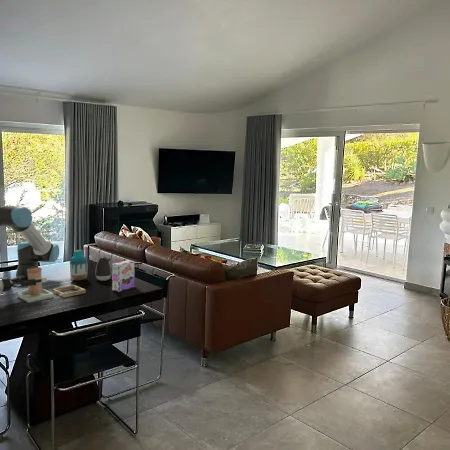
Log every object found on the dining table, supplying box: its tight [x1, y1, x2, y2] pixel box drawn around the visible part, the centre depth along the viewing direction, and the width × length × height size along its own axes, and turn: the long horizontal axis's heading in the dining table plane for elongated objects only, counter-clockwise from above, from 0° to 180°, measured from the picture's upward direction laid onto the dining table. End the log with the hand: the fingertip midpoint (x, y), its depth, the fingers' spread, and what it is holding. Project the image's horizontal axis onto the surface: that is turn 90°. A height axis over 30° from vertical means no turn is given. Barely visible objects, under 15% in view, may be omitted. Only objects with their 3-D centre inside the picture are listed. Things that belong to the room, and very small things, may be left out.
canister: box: [27, 266, 43, 295], centre depth 251 cm, size 8×8×14 cm
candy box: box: [111, 259, 136, 293], centre depth 272 cm, size 14×6×16 cm, turn 148°
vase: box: [69, 249, 88, 281], centre depth 289 cm, size 11×11×19 cm
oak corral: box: [52, 284, 87, 298], centre depth 263 cm, size 14×14×2 cm
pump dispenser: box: [95, 256, 112, 282], centre depth 292 cm, size 10×10×15 cm
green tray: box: [17, 287, 54, 304], centre depth 253 cm, size 14×14×2 cm
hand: (43, 277), depth 255 cm, fingers closed on canister, 7 cm apart
